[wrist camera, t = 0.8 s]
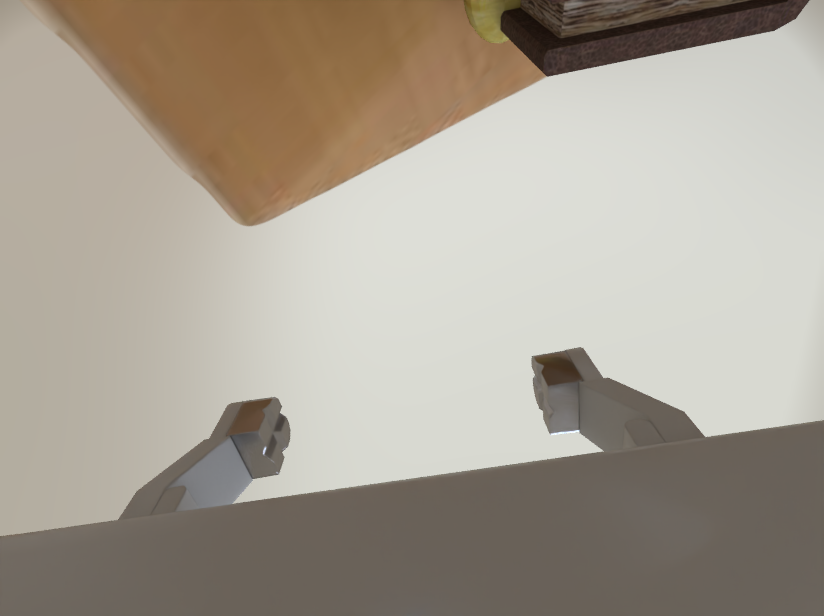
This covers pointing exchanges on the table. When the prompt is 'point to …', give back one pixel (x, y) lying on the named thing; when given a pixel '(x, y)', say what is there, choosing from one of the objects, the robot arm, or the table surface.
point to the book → (620, 27)
